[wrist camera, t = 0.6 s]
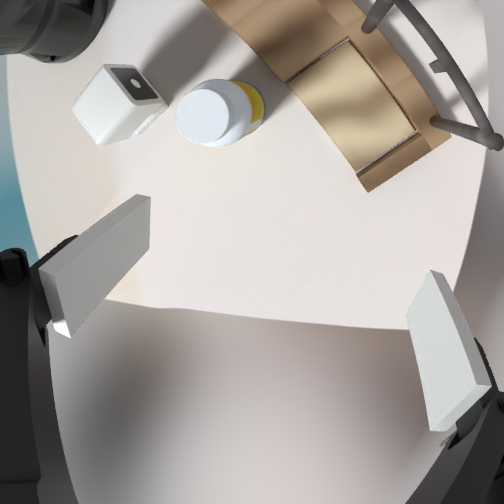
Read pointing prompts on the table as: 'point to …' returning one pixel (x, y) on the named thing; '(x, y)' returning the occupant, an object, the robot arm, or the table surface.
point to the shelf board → (356, 78)
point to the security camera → (118, 104)
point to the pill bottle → (220, 112)
